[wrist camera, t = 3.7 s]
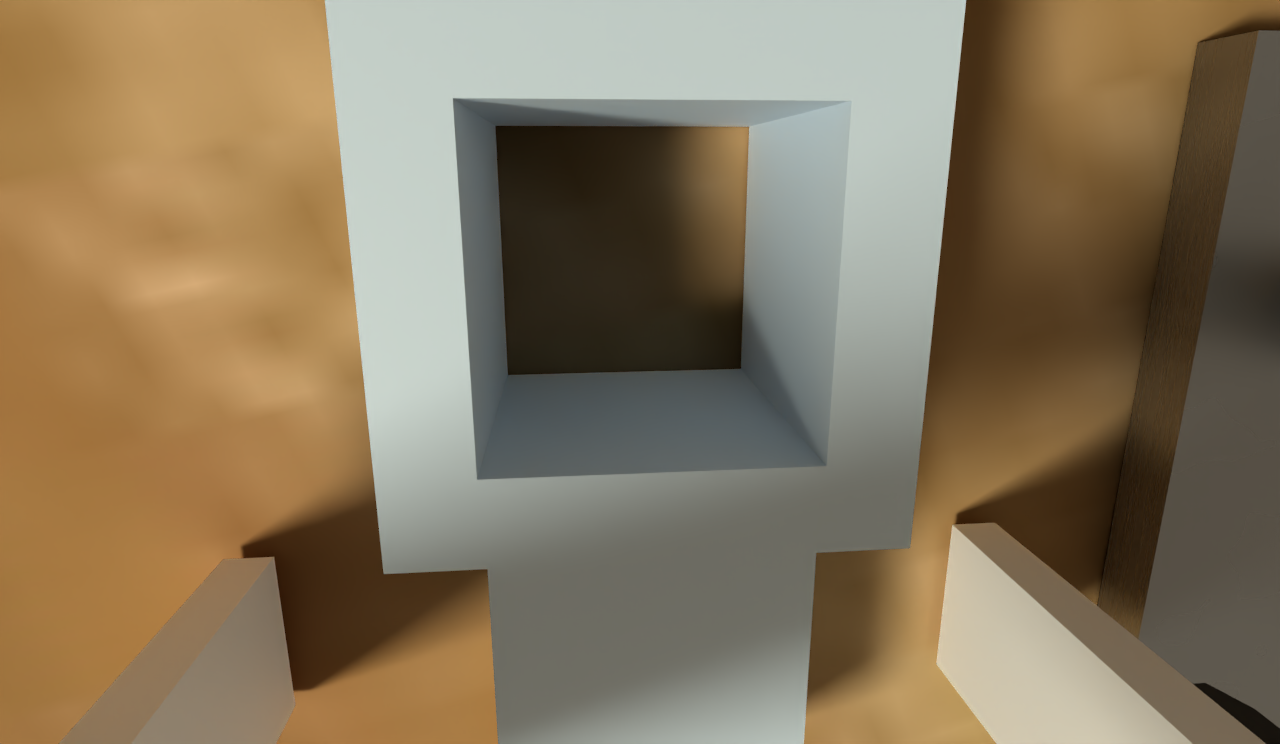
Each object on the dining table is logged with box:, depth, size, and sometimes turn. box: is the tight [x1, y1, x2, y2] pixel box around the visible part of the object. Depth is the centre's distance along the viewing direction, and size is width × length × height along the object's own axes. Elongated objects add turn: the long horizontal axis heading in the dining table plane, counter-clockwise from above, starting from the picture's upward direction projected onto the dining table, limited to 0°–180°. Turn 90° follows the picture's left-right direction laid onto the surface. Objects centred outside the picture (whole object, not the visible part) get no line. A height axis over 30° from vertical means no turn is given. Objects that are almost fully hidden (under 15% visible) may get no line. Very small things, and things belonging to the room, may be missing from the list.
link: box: [325, 0, 966, 744], centre depth 10 cm, size 12×6×4 cm, turn 0°
